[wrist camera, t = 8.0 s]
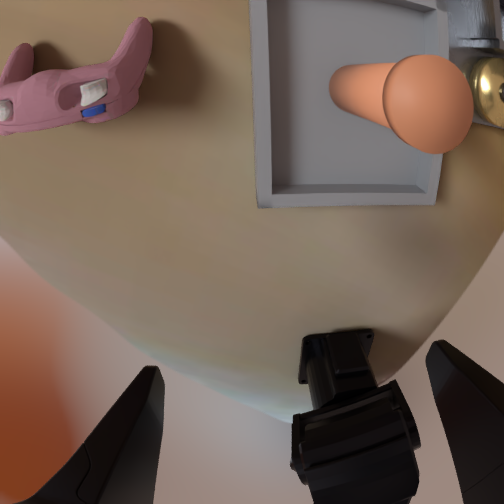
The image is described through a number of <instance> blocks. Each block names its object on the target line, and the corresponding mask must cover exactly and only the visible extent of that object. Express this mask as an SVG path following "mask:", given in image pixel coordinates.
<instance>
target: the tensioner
mask: <svg viewBox="0 0 504 504" xmlns="http://www.w3.org/2000/svg"><path fill="white" fill-rule="evenodd" d="M444 1H446V4H447V17H448V37H449V61H450V62H452V63H453V64H454V65H456V66H457V67H458V68H459V70H460V71H461V72H462V73H463V75H464V76H465V78H466V80H467V82H468V84H469V86H470V89H471V92H472V97H473V105H474V110H473V119H472V122H475V123H479V124H484V125H488V126H493V127H497V128H501V129H504V0H444Z"/></svg>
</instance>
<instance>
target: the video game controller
mask: <svg viewBox="0 0 504 504" xmlns="http://www.w3.org/2000/svg"><path fill="white" fill-rule="evenodd" d="M152 43H153V29H152V26H151V24H150V22H149V21H148V19H146V18H144V17H138V18H137V19H135V20H134V21H133V22H132V23H131V25H130V26H129V27H128V29H127V31H126V33H125V35H124V37H123V40H122V42H121V44H120V46H119V47H118V49H117V51H116V53H115V54H114V55H113V57H112V58H111V59H110V60H109V61H107V62H104V63H100V64H94V65H88V66H83V67H79V68H74V69H70V70H65V69H53V70H45V71H41V72H38V73H36V74H34V75H32V71H33V64H34V52H33V48H32V46H31V45H30V44H28V43H23V44H21V45H19V46H17V47H16V48H15V49H14V50H13V52H12V53H11V54H10V56H9V58H8V60H7V62H6V65H5V67H4V70H3V72H2V75H1V77H0V135H10V134H13V133H16V132H29V131H38V130H44V129H49V128H54V127H59V126H63V125H67V124H71V123H74V122H78V121H81V120H82V121H84V122H88V123H99V122H105V121H108V120H112V119H115V118H117V117H119V116H121V115H123V114H125V113H127V112H128V111H130V110H131V109H132V108H133V107H134V106H135V105H136V104H137V102H138V100H139V93H138V89H139V87H140V85H141V83H142V80H143V77H144V74H145V71H146V68H147V65H148V62H149V58H150V55H151V49H152ZM31 75H32V76H31Z"/></svg>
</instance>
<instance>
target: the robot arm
mask: <svg viewBox="0 0 504 504" xmlns="http://www.w3.org/2000/svg"><path fill="white" fill-rule="evenodd" d="M373 338H374V332H373V330H371V329H367V330H359V331H351V332H342V333H332V334H322V335H312V336H306V337H304V338H303V339H302V346H301V356H300V365H299V374H298V381H299V384H309V389H310V395H311V400H312V405H313V410H312V411H309V412H306V413H302V414H300V413H299V414H295V415H293V423H292V457H291V461H290V467H291V469H292V470H294V471H296V472H297V474H298V476H299V479H300V480H301V482H302V483H303V484H304V485H308V486H309V489H310V492H311V495H312V498H313V501H314V504H409V503H410V500H411V498H412V497H413V496H415V494H416V492H417V488H418V484H419V469H418V465H417V462H416V458H415V454H414V450H416V449H418V448H420V447H421V443H420V437H419V433H418V429H417V426H416V423H415V420H414V417H413V415H412V412H411V410H410V408H409V406H408V404H407V402H406V400H405V398H404V395H403V393H402V392H401V389H400V387H399V386H398V383H397V381H396V380H393V381H390V382H389V383H388V384H386V385H383V386H381V387H378V384H377V382H376V379H375V376H374V374H373V371H372V368H371V366H370V363H369V360H368V355H369V352H370V348H371V345H372V342H373ZM307 341H309V342H307ZM426 367H427V371H428V374H429V379H430V383H431V387H432V391H433V395H434V399H435V403H436V406H437V409H438V412H439V414H440V418H441V421H442V424H443V427H444V430H445V434H446V437H447V440H448V444H449V447H450V451H451V453H452V458H453V461H454V465H455V468H456V473H457V477H458V481H459V484H460V489H461V493H462V498H463V503H464V504H504V384H503V383H502V382H501V381H500V380H498V379H497V378H496V377H494V376H493V375H492V374H490V373H489V372H488V371H486V370H485V369H484V368H482V367H481V366H480V365H478V364H477V363H475V362H474V361H473V360H471V359H470V358H469V357H467V356H466V355H465V354H463V353H462V352H461V351H459V350H458V349H457V348H455V347H454V346H452V345H451V344H450V343H448V342H447V341H445V340H438V341H434V342H433V343H432V345H431V347H430V349H429V352H428V354H427V356H426ZM164 395H165V384H164V380H163V377H162V375H161V372H160V370H159V368H158V366H145V367H144V368H143V369H142V370H141V371H140V372H139V374H138V375H137V376H136V377H135V379H134V380H133V381H132V382H131V384H130V385H129V386H128V387H127V389H126V390H125V391H124V392H123V393H122V395H121V396H120V397H119V398H118V400H117V401H116V402H115V404H114V405H113V406H112V407H111V408H110V410H109V411H108V412H107V413H106V415H105V416H104V417H103V418H102V420H101V421H100V422H99V423H98V425H97V426H96V427H95V428H94V430H93V431H92V432H91V433H90V435H89V436H88V437H87V438H86V440H85V441H84V443H82V445H81V446H80V447H79V448H78V450H77V451H76V452H75V453H74V454H73V456H72V457H71V458H70V459H69V460H68V461H67V463H66V464H65V465H64V466H63V467H62V468H61V469H60V470H59V471H58V472H57V473H56V474H55V475H54V476H53V477H52V478H51V479H50V480H49V481H48V482H47V483H46V484H45V485H44V486H43V487H42V488H41V489H39V490H38V491H37V492H36V493H35V494H34V495H33V496H31V497H30V498H28V499H26V500H24V501H21V502H18V503H14V504H153V499H154V491H155V483H156V475H157V468H158V461H159V454H160V447H161V441H162V434H163V420H164Z"/></svg>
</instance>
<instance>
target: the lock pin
mask: <svg viewBox="0 0 504 504" xmlns="http://www.w3.org/2000/svg"><path fill="white" fill-rule="evenodd" d="M329 93H330V96H331V99H332V101H333V102H334V103H335V105H336V106H337V107H338V108H340V109H341V110H343V111H345V112H348V113H351V114H353V115H356V116H359V117H362V118H364V119H367V120H370V121H372V122H375V123H377V124H380V125H382V126H385V127H387V128H390V129H392V131H393V132H394V133H395V134H396V135H397V137H398V138H400V139H401V140H402V141H403V142H405V143H406V144H408V145H410V146H412V147H414V148H416V149H418V150H420V151H422V152H425V153H429V154H442V153H446V152H448V151H450V150H452V149H454V148H455V147H457V146H458V145H459V144H460V143H461V142H462V141H463V139H464V138H465V136H466V135H467V133H468V131H469V129H470V126H471V123H472V119H473V110H474V105H473V97H472V92H471V89H470V86H469V84H468V82H467V80H466V78H465V76H464V75H463V73H462V72H461V71H460V70H459V68H458V67H457V66H456V65H454V64H453V63H452V62H450V61H449V60H447V59H445V58H443V57H440V56H437V55H412V56H408V57H405V58H403V59H401V60H400V61H399V62H397V63H372V64H355V65H346V66H343V67H340V68H339V69H337V70H336V71H335V72H334V73H333V75H332V76H331V79H330V82H329Z"/></svg>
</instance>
